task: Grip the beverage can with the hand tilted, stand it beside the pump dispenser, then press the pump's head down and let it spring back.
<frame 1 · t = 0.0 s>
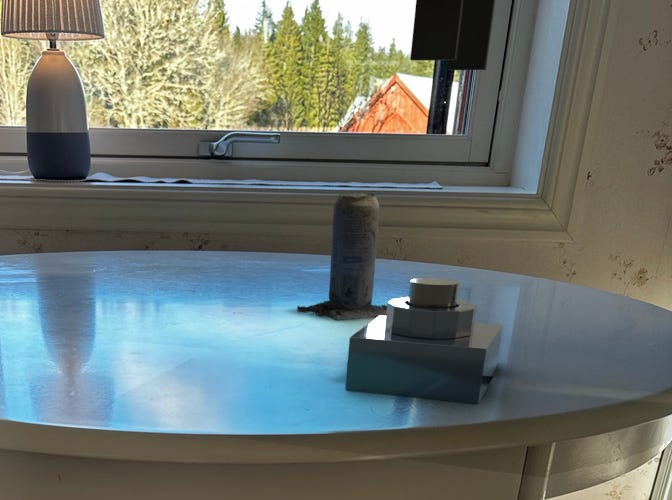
hand: (451, 66, 65), 21 cm above the table, tool pointing down, fingers open, 13 cm apart
beverage can: (349, 322, 99), on the table
pump: (422, 382, 76), on the table
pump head: (433, 295, 72), point 7 cm above the table, slide at 0.1 cm
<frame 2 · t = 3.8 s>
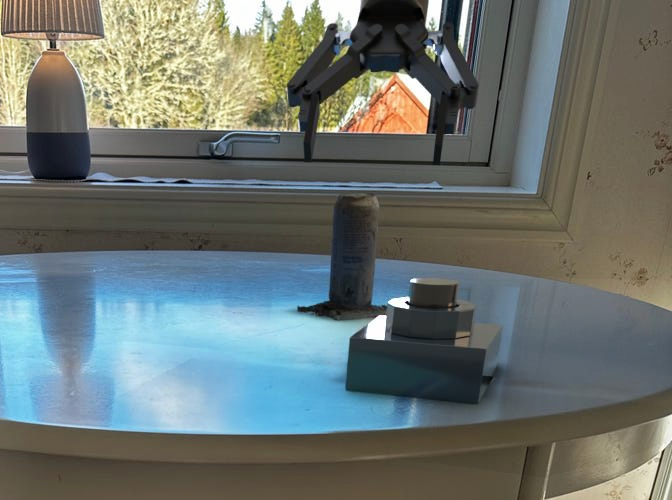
hand: (371, 154, 101), 15 cm above the table, tool tilted 45°, fingers open, 13 cm apart
nothing on the table moved.
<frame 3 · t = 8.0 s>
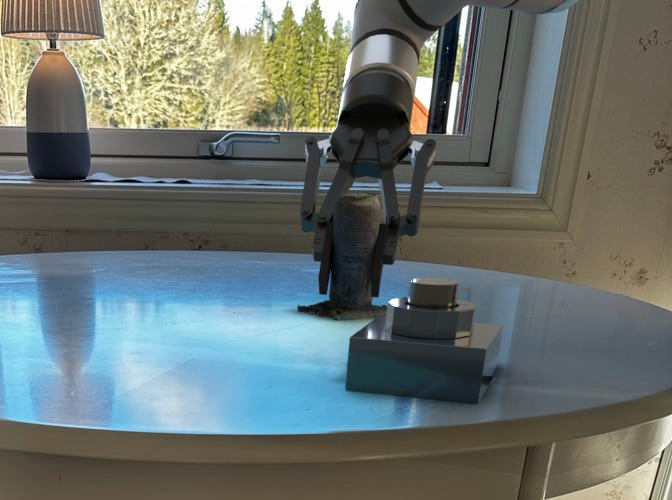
hand: (348, 286, 94), 4 cm above the table, tool tilted 45°, fingers closed on beverage can, 4 cm apart
beverage can: (349, 321, 99), on the table, touching gripper
everything else where it was.
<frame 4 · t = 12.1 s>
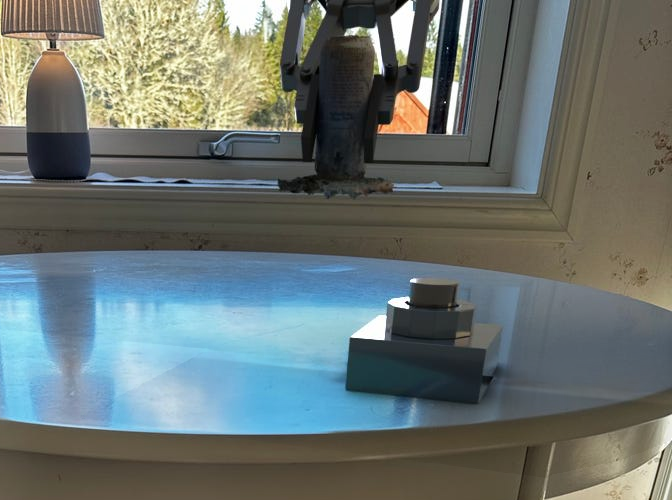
hand: (337, 149, 79), 16 cm above the table, tool tilted 45°, fingers closed on beverage can, 4 cm apart
beverage can: (339, 199, 84), point 12 cm above the table, touching gripper
everything else where it was.
when the fingers open (4 cm above the table, at t = 16.2 s): beverage can stays where it is, on the table.
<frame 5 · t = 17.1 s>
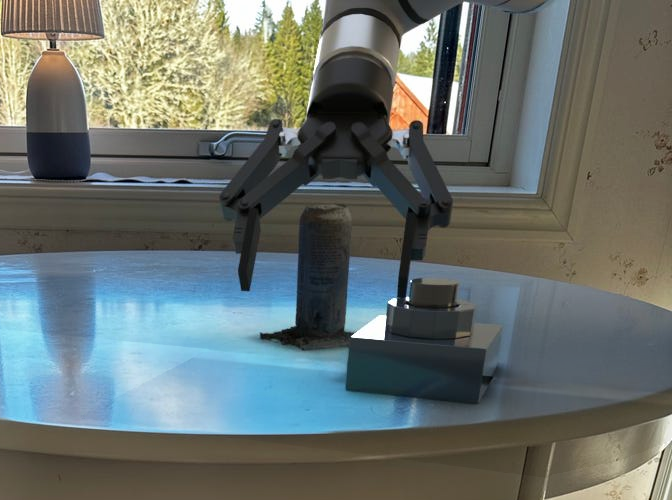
hand: (321, 285, 82), 6 cm above the table, tool tilted 45°, fingers open, 13 cm apart
beverage can: (319, 350, 87), on the table
everything else where it was.
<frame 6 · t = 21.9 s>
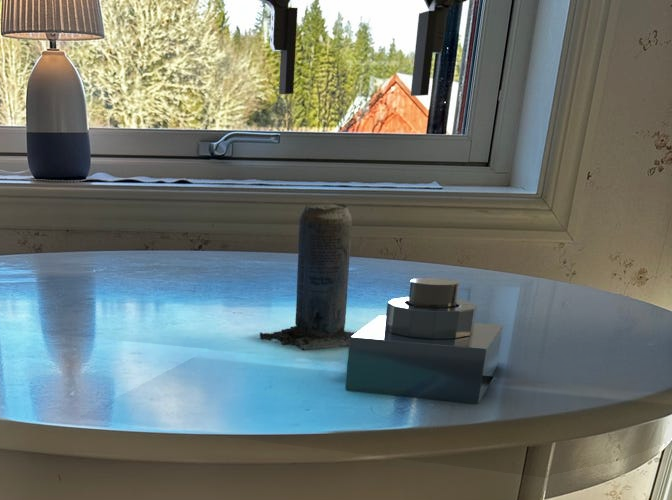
hand: (353, 95, 88), 20 cm above the table, tool pointing down, fingers open, 12 cm apart
nothing on the table moved.
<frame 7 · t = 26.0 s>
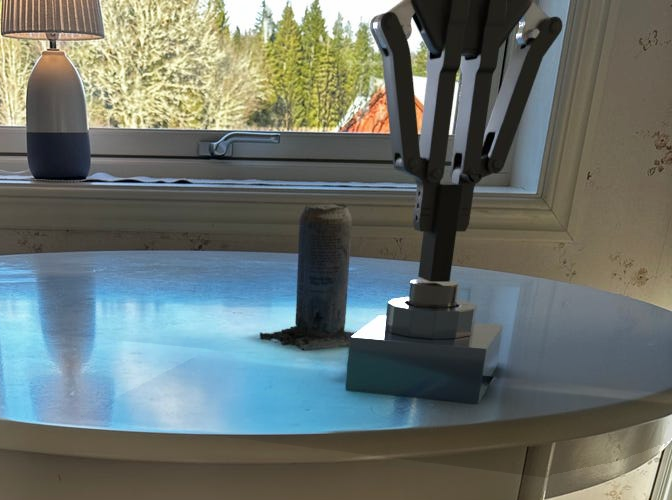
hand: (433, 278, 72), 8 cm above the table, tool pointing down, fingers closed
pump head: (432, 296, 73), point 7 cm above the table, slide at 0.0 cm, touching gripper
everything else where it was.
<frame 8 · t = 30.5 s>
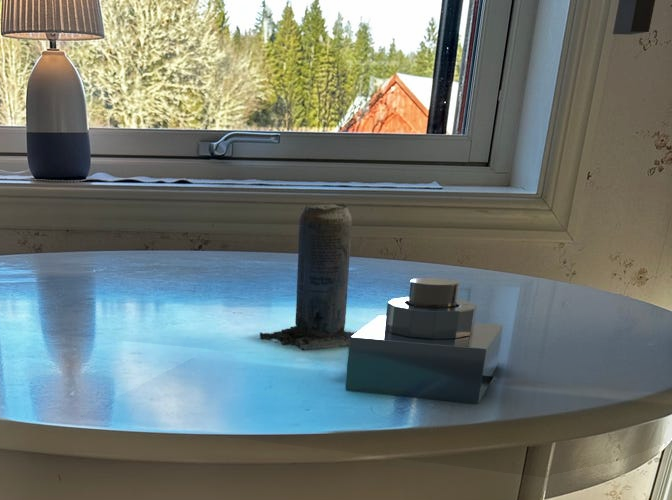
hand: (630, 32, 74), 24 cm above the table, tool pointing down, fingers closed
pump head: (433, 295, 72), point 7 cm above the table, slide at 0.1 cm
everything else where it was.
at the end: beverage can inside the target area on the table beside the pump (0.1 cm from its centre), on the table; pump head pushed in 1.2 cm at the most during the clip, back to where it started at the end; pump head slide at 0.1 cm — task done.
